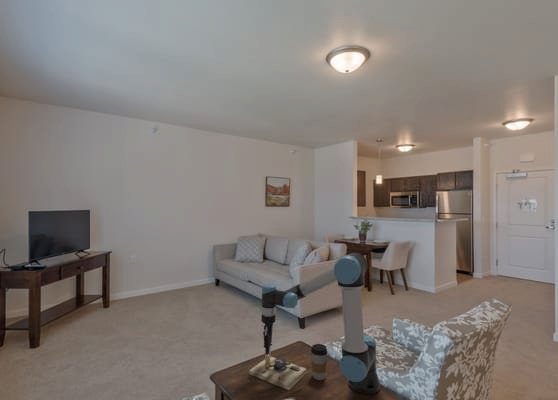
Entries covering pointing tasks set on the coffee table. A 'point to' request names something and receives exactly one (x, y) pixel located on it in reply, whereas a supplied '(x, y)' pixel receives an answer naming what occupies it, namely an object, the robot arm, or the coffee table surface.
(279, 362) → the grey round handled piece
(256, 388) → the coffee table surface
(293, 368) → the lever board
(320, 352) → the coffee cup
